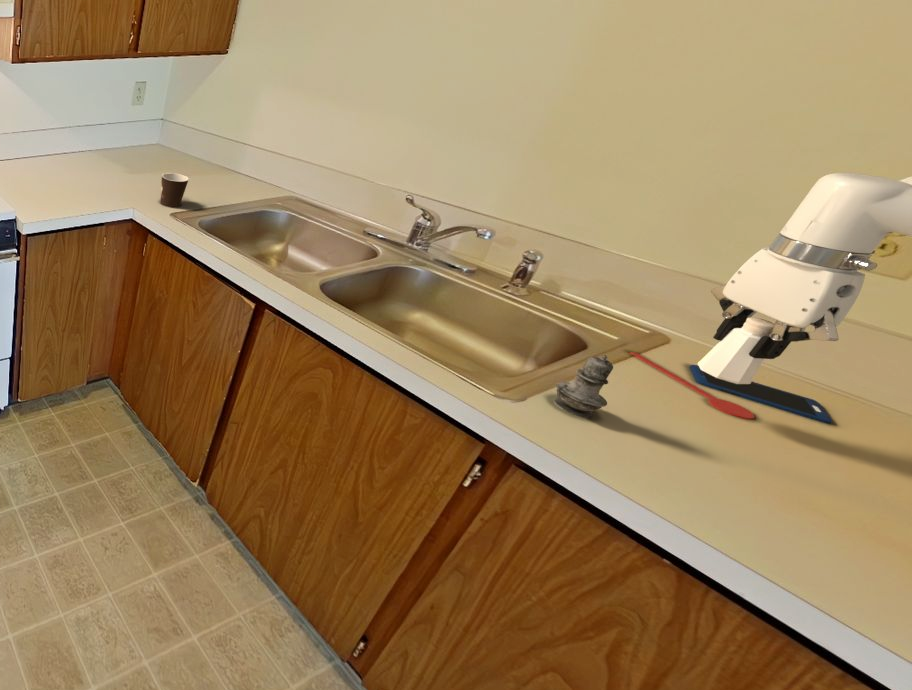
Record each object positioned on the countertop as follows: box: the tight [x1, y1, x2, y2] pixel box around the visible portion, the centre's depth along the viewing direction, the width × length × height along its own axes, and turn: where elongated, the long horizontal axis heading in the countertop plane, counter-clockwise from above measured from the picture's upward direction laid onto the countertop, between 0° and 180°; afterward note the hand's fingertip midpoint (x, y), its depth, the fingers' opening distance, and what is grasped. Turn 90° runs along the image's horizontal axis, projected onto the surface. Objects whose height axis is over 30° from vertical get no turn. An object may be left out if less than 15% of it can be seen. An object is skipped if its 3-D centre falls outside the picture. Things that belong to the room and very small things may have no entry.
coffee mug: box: [160, 172, 190, 208], centre depth 176 cm, size 12×9×10 cm
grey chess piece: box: [552, 354, 614, 419], centre depth 87 cm, size 6×6×12 cm
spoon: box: [629, 352, 755, 420], centre depth 95 cm, size 17×5×1 cm, turn 175°
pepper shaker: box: [697, 316, 775, 384], centre depth 85 cm, size 5×5×11 cm
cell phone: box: [689, 364, 833, 425], centre depth 93 cm, size 7×14×1 cm, turn 44°
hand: (743, 347), depth 84 cm, fingers closed on pepper shaker, 3 cm apart
